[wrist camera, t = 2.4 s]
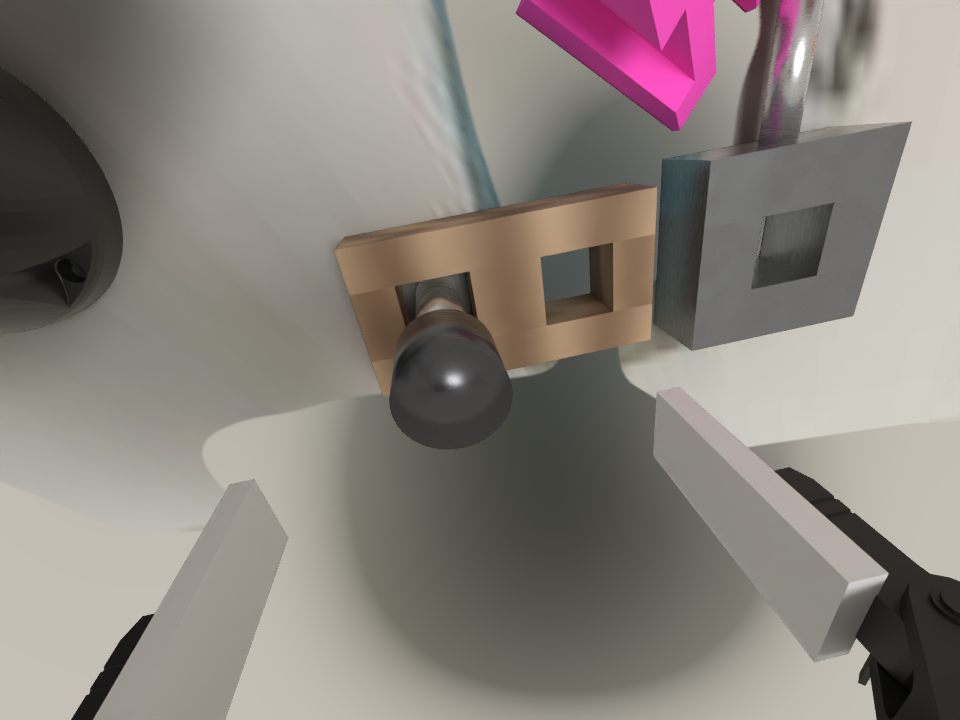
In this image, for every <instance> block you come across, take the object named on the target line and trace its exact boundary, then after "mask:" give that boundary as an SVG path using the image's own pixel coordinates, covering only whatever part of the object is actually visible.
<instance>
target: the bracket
mask: <svg viewBox="0 0 960 720" xmlns="http://www.w3.org/2000/svg"><path fill="white" fill-rule="evenodd" d="M714 1H715V0H521V2H520V4H519V6H518V9H517V11H516V14H517V15H518V16H519V17H521V18H522V19H523V20H525V21H526V22H527V23H529V24H530V25H531V26H533V27H534V28H536V29H537V30H538V31H539V32H541V33H542V34H543V35H545V36H546V37H548V38H549V39H550V40H551V41H553V42H554V43H555V44H557V45H558V46H559V47H561V48H562V49H563V50H565V51H566V52H567V53H569V54H570V55H571V56H573V57H574V58H575V59H577V60H578V61H579V62H581V63H582V64H583V65H585V66H586V67H587V68H589V69H590V70H591V71H593V72H594V73H596V74H597V75H598V76H599V77H601V78H602V79H604V80H605V81H606V82H607V83H609V84H610V85H611V86H613V87H614V88H616V89H617V90H618V91H619V92H621V93H622V94H623V95H625V96H626V97H627V98H629V99H630V100H631V101H633V102H634V103H636V104H637V105H638V106H640V107H641V108H642V109H644V110H645V111H646V112H648V113H649V114H650V115H652V116H653V117H654V118H656V119H657V120H658V121H660V122H661V123H662V124H664V125H665V126H666V127H668V128H669V129H670V130H672V131H678V130H680V129H681V128H682V126H683V124H684V123H685V121H686V120H687V118H688V116H689V114H690V113H691V111H692V110H693V108H694V107H695V105H696V104H697V102H698V100H699V99H700V97H701V96H702V94H703V92H704V91H705V89H706V88H707V86H708V84H709V83H710V81H711V79H712V78H713V76H714V75H715V73H716V62H715V61H716V60H715V34H714V7H713V2H714ZM732 1H733V2H734V3H735V4H736V5H737V6H738V7H740V8H741V9H742V10H743V11H744V12H745V13H746V12H748V11H751V10H753V9H755V8H756V7H757V6H758V4H759V3H760V1H761V0H732Z"/></svg>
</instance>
